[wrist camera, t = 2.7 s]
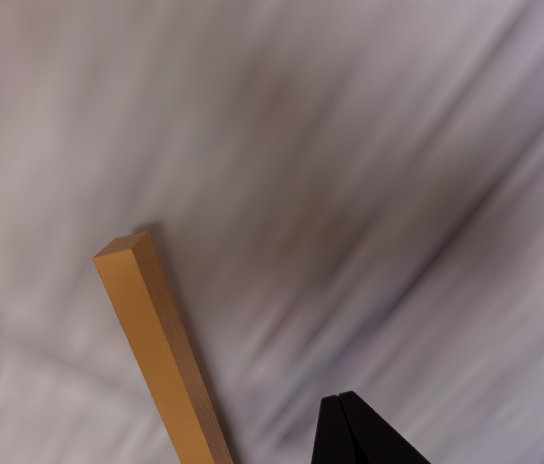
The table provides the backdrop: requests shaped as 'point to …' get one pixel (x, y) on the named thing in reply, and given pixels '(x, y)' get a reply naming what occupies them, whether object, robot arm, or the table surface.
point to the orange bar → (161, 347)
